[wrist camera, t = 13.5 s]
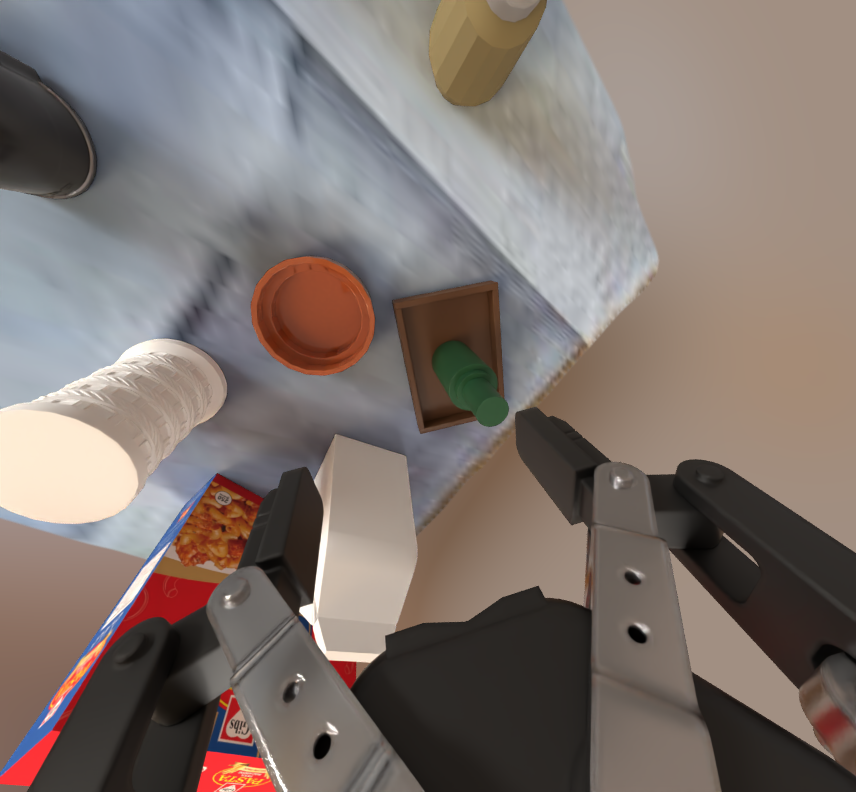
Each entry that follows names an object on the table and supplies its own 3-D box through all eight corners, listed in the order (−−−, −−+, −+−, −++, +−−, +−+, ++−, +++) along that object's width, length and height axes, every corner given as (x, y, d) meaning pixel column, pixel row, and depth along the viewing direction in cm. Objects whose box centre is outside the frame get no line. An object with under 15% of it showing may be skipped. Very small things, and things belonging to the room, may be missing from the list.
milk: (406, 455, 52) (441, 624, 29) (377, 506, 55) (389, 692, 32) (335, 433, 47) (310, 610, 24) (309, 490, 51) (266, 691, 28)
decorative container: (220, 341, 39) (122, 407, 23) (232, 422, 44) (158, 523, 28) (109, 334, 36) (-88, 402, 20) (134, 421, 41) (-10, 531, 25)
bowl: (245, 267, 36) (229, 269, 32) (358, 246, 37) (358, 246, 33) (287, 371, 42) (278, 385, 38) (383, 350, 43) (385, 362, 39)
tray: (391, 300, 41) (393, 303, 38) (490, 280, 42) (498, 282, 40) (417, 425, 50) (420, 434, 47) (498, 405, 51) (505, 413, 49)
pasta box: (357, 549, 59) (354, 770, 34) (328, 573, 60) (305, 803, 35) (217, 473, 47) (51, 730, 22) (184, 505, 48) (-8, 783, 23)
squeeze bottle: (428, 124, 34) (487, 14, 18) (415, 18, 30) (475, -241, 14) (499, 114, 35) (616, 0, 19) (494, 10, 31) (636, -245, 15)
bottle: (428, 345, 44) (460, 392, 29) (469, 336, 44) (520, 378, 30) (434, 383, 46) (467, 443, 32) (473, 374, 47) (521, 429, 33)
